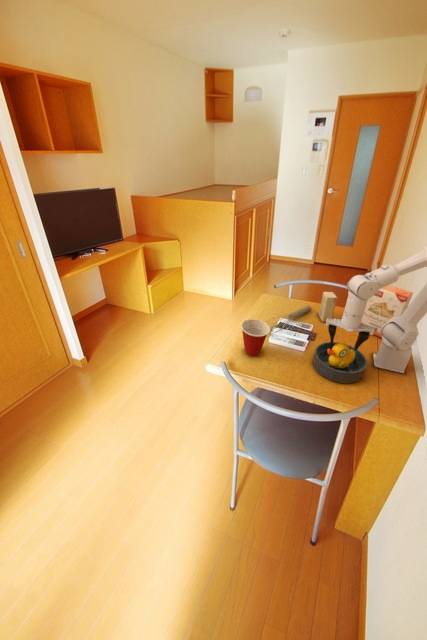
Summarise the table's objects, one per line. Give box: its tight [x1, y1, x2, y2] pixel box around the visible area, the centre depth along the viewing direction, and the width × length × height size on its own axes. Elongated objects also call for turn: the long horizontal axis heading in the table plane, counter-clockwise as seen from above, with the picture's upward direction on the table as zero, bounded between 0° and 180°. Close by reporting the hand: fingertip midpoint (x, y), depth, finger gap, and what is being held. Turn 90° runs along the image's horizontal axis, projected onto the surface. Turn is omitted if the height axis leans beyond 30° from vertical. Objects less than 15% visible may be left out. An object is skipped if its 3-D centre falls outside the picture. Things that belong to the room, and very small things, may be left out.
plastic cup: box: [240, 318, 271, 357], centre depth 109 cm, size 11×11×12 cm
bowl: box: [312, 341, 368, 384], centre depth 103 cm, size 17×17×5 cm
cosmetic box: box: [318, 291, 338, 322], centre depth 130 cm, size 6×4×12 cm
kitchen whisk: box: [268, 305, 312, 334], centre depth 130 cm, size 6×34×6 cm, turn 132°
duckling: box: [327, 342, 355, 368], centre depth 102 cm, size 11×5×10 cm, turn 104°
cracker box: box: [361, 284, 414, 339], centre depth 118 cm, size 14×6×21 cm, turn 42°
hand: (343, 346), depth 100 cm, fingers open, 7 cm apart
